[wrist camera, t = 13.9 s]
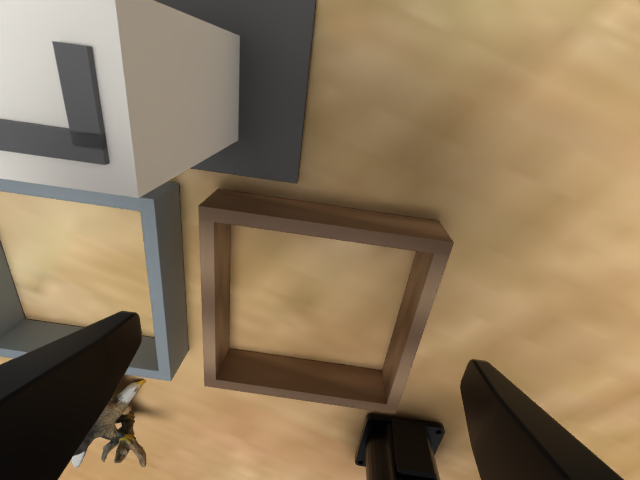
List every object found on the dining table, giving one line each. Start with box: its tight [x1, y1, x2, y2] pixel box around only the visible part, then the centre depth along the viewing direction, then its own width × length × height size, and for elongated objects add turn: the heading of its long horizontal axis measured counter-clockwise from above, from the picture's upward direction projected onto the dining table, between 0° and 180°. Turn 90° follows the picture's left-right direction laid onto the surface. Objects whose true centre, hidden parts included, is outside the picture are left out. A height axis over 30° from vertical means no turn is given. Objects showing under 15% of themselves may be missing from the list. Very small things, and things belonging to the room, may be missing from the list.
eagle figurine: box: [71, 380, 146, 468], centre depth 26 cm, size 8×7×9 cm
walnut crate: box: [199, 189, 454, 414], centre depth 22 cm, size 14×14×3 cm
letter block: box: [0, 0, 240, 198], centre depth 13 cm, size 5×5×10 cm
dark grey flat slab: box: [154, 0, 316, 184], centre depth 18 cm, size 9×12×1 cm
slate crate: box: [0, 179, 189, 381], centre depth 22 cm, size 14×14×3 cm
